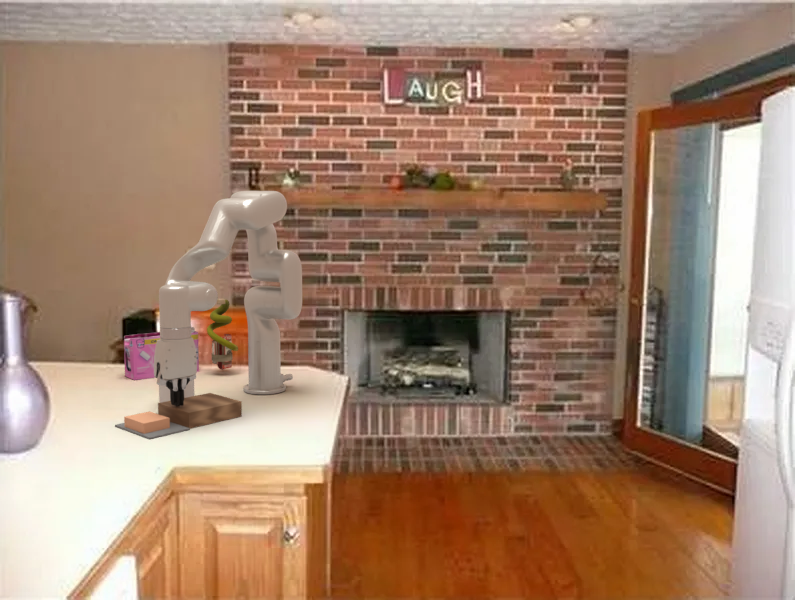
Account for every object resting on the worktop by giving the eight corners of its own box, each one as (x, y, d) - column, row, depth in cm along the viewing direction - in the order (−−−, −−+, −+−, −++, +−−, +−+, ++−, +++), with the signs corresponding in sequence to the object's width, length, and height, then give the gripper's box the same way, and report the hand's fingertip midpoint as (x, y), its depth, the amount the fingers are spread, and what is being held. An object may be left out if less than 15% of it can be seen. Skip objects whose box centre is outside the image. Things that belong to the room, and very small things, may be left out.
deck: (210, 407, 211) (210, 392, 211) (241, 416, 202) (241, 401, 201) (158, 418, 199) (158, 403, 199) (189, 428, 190) (188, 412, 189)
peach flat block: (124, 416, 189) (124, 426, 190) (143, 423, 184) (144, 433, 184) (149, 411, 195) (149, 421, 195) (169, 417, 189) (169, 427, 189)
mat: (154, 417, 199) (154, 416, 199) (189, 429, 189) (189, 428, 189) (115, 426, 191) (114, 424, 191) (149, 439, 181) (149, 437, 181)
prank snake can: (237, 376, 250) (236, 300, 247) (205, 377, 249) (204, 300, 246) (240, 369, 261) (239, 296, 258) (210, 370, 260) (209, 296, 257)
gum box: (130, 381, 242) (128, 339, 241) (120, 377, 248) (118, 335, 246) (199, 371, 258) (198, 331, 256) (189, 368, 264) (188, 328, 262)
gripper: (192, 328, 201) (194, 397, 203) (140, 335, 190) (142, 407, 192) (209, 332, 196) (210, 402, 198) (156, 339, 185) (159, 413, 187)
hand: (177, 404), depth 195 cm, fingers closed
